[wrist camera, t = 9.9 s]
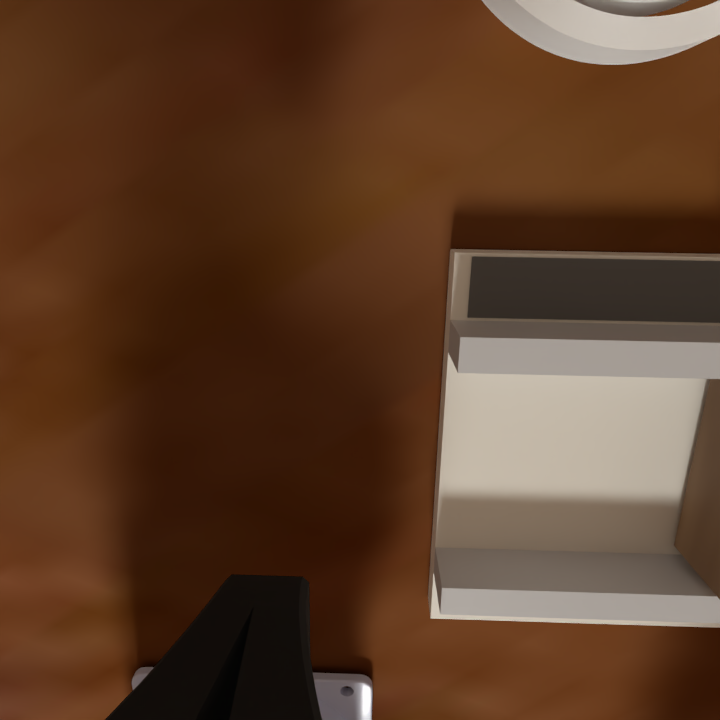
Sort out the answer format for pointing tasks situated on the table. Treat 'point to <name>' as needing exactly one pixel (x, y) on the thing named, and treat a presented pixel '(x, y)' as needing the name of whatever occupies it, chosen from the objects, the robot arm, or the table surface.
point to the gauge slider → (704, 498)
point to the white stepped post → (608, 27)
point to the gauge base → (571, 436)
